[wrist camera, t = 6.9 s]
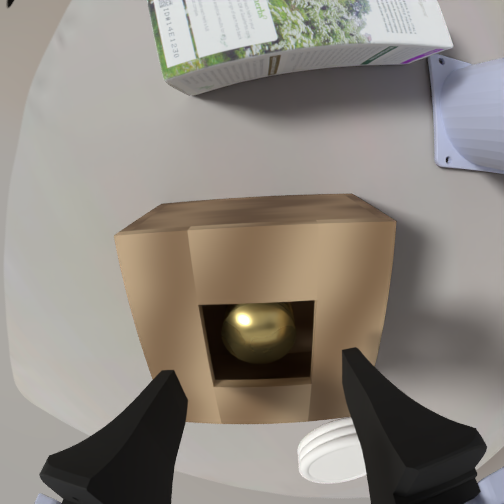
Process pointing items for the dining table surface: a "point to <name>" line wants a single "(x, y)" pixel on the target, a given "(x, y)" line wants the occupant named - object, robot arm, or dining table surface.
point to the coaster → (331, 453)
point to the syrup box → (288, 37)
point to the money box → (259, 298)
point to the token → (259, 331)
